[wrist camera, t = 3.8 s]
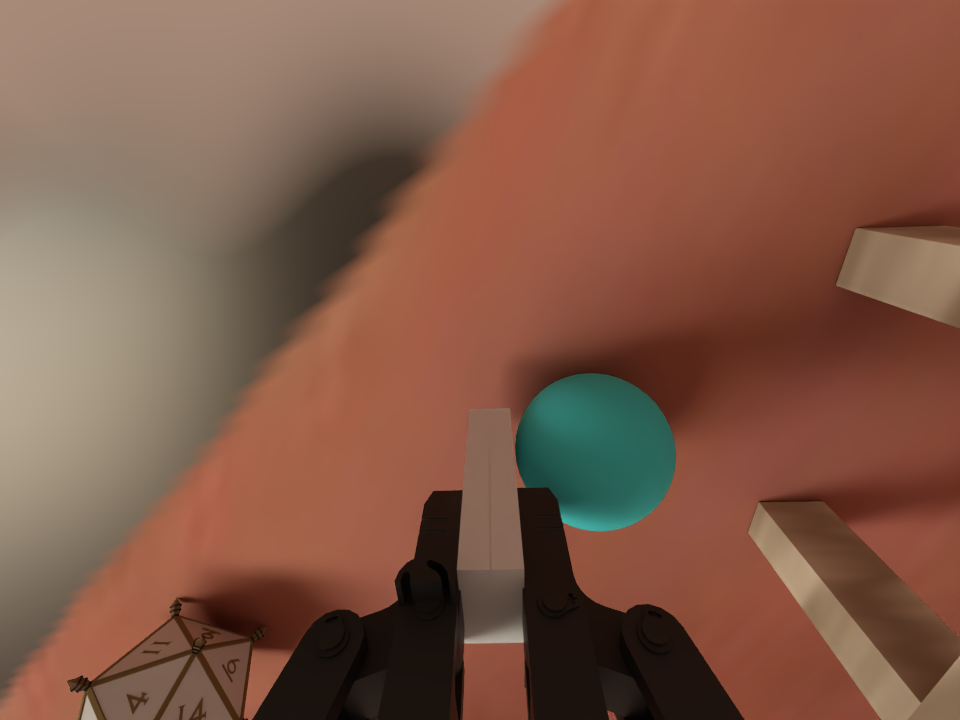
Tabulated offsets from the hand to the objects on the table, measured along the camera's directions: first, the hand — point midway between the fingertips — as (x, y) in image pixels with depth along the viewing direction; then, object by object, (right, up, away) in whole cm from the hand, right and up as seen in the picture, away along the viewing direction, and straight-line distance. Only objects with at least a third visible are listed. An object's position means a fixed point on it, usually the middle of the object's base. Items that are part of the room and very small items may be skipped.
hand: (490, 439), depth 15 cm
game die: (-16, -13, +9) cm, 22 cm away
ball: (+4, 0, -1) cm, 4 cm away
